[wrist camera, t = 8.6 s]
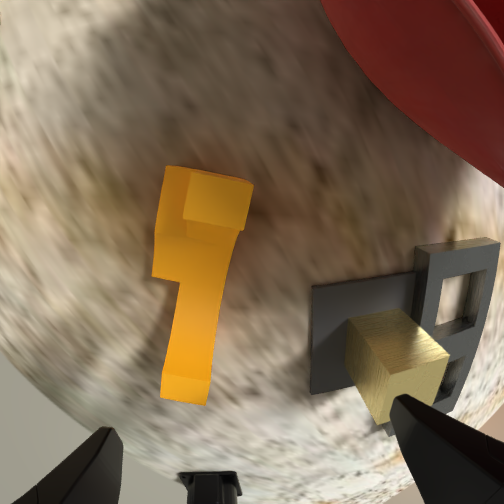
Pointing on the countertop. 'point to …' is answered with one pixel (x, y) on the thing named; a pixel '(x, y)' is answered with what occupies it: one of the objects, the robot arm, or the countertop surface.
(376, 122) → the countertop surface
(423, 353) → the pale yellow block
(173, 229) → the pipe clamp
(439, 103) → the mixing bowl
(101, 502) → the robot arm
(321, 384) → the mat
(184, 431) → the countertop surface
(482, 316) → the gray slotted plate
